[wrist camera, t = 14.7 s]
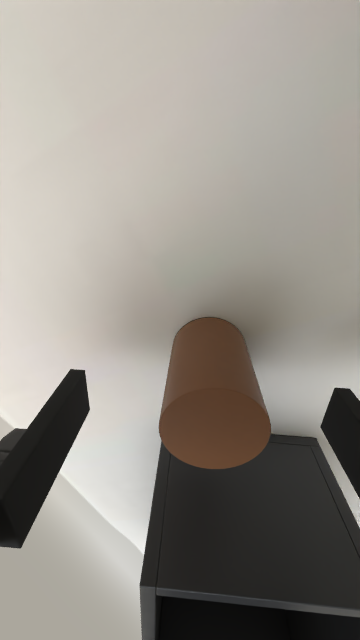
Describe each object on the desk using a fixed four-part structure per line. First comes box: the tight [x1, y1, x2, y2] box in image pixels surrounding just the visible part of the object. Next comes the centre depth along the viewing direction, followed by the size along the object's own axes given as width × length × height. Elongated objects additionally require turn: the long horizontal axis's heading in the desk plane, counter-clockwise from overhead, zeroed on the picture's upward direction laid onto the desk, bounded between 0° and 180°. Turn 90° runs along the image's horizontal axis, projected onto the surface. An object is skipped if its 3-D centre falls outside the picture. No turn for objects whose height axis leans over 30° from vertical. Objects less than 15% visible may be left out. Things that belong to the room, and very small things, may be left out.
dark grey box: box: [140, 434, 360, 640], centre depth 20 cm, size 16×12×10 cm
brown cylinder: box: [159, 317, 271, 469], centre depth 15 cm, size 5×5×7 cm
